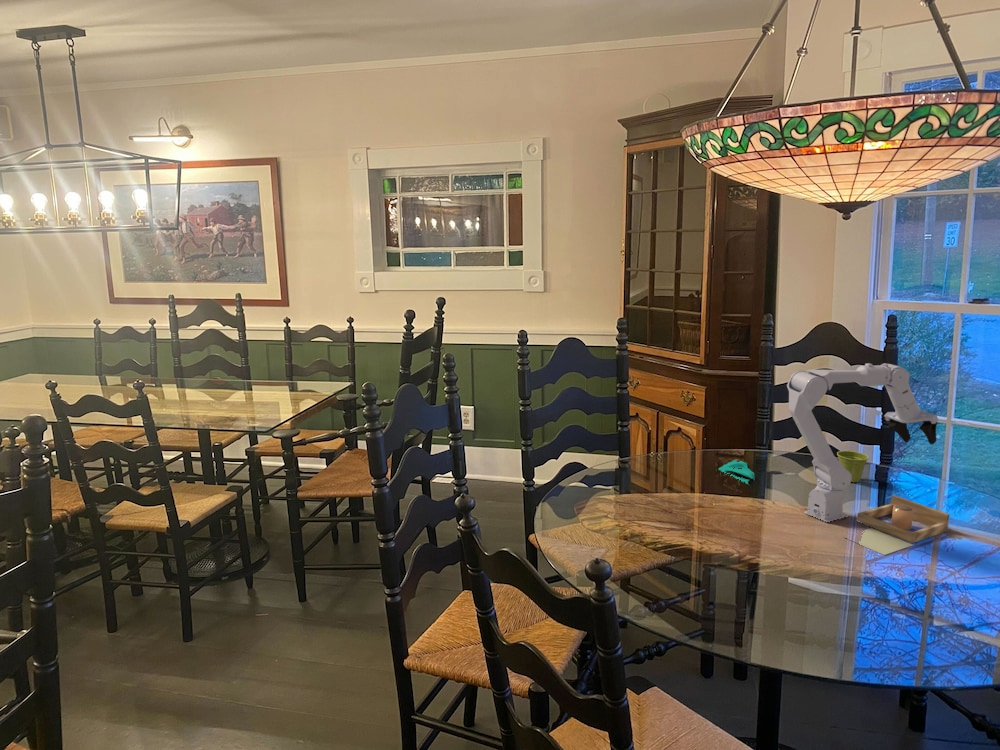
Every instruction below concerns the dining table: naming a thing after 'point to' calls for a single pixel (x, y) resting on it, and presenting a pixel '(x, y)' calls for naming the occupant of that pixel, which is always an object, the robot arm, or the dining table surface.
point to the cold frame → (921, 514)
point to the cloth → (738, 470)
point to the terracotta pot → (902, 516)
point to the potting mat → (882, 542)
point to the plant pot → (853, 463)
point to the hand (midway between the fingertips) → (920, 441)
